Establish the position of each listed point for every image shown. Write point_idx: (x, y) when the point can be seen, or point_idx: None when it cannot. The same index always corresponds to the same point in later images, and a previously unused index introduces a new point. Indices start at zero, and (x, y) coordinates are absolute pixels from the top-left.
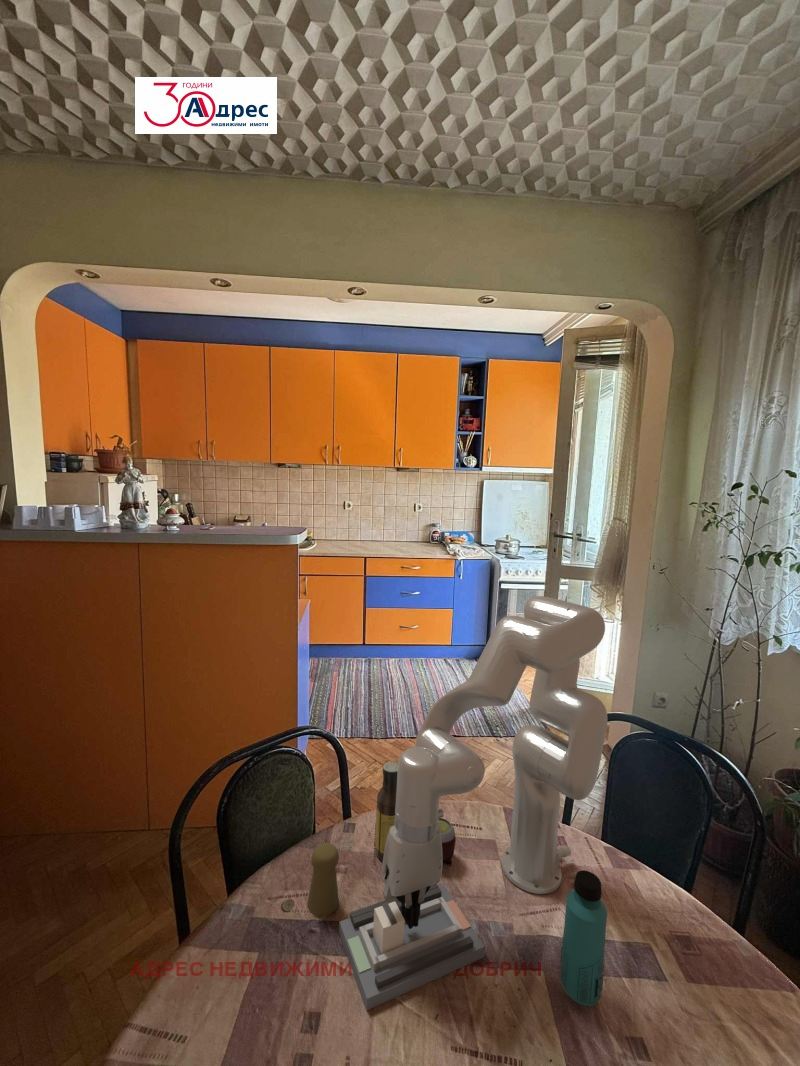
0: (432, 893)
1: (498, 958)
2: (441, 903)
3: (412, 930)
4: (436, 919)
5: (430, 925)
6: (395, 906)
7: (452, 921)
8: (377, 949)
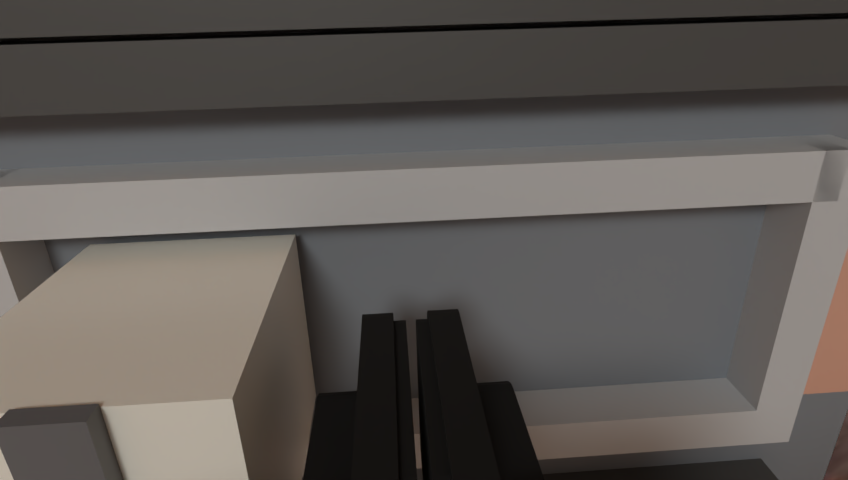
0: (823, 69)
1: (829, 468)
2: (812, 217)
3: (446, 288)
4: (676, 262)
5: (601, 293)
6: (215, 465)
7: (765, 385)
8: None
